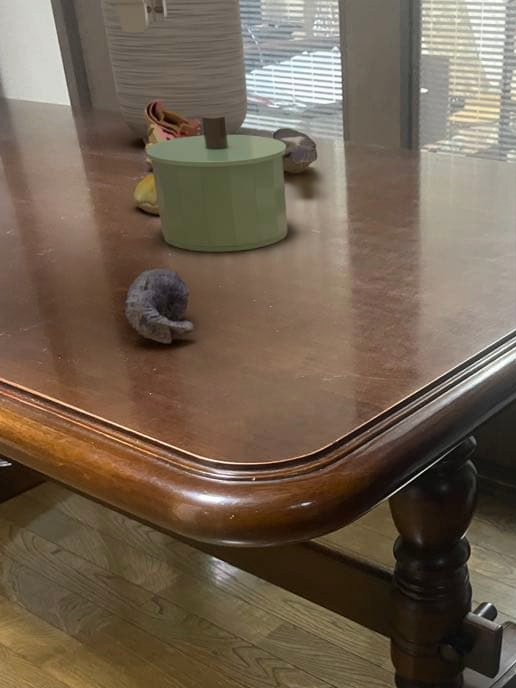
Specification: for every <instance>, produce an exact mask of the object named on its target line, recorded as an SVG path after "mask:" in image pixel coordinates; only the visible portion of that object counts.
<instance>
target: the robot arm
mask: <svg viewBox="0 0 516 688" xmlns="http://www.w3.org/2000/svg"><path fill="white" fill-rule="evenodd" d="M116 3H117V7H118V13H119V19H120V25H121V28H122V30H123V31H125V32H126V33H142V32H144V31H146V30H147V29H148V27H149V22H163V21H164V20H166V18H167V10H166V2H165V0H116Z"/></svg>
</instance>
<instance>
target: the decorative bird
mask: <svg viewBox="0 0 516 688" xmlns="http://www.w3.org/2000/svg"><path fill="white" fill-rule="evenodd" d="M272 139H276V140H279V141H281V142H283V143H285V145H286V153H285V154H284V155H282V159H283V171H285V172H286V173H289V174H293V175H296V174H301V173H303V172H304V171H305V170H306V169H307V168H308V167H309V166H310V165H311V164H312V163H313V162H316V161H317V159H318V150H317V144H316V142H315V141H314V140H313V139H312V138H311V137H310V136H309V135H307V134H306V133H303V132H302V131H298V130H296V129H293V128H290V127H288V128H287V127H285V128H283V127H282V128H278V129H276V130H275V131H274V132H273V134H272Z"/></svg>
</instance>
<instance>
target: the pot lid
mask: <svg viewBox="0 0 516 688" xmlns="http://www.w3.org/2000/svg"><path fill="white" fill-rule="evenodd" d="M202 123H203V132H204V135H202V136H191V137H183V138H176V139H171V140H166V141H162V142H158V143H155V144H153V145H151V146H149V147H148V148H147V150H146V153H145V155H146V158H147V157H148V158H149V159H151V160H153V161H156V162H159V163H163V164H169V165H176V166H189V167H223V166H237V165H246V164H253V163H259V162H264V161H268V160H272V159H275V158H278V157H280V156H282V155H284V154H285V153H286V145H285V143H283V142H281V141H279V140H276V139H273V137H267V136H260V135H249V134H233V135H227V129H226V120H225V115H220V114H210V115H204V116H202Z"/></svg>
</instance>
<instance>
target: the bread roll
mask: <svg viewBox="0 0 516 688" xmlns="http://www.w3.org/2000/svg"><path fill="white" fill-rule="evenodd" d="M133 198H134V199H133V200H134V203H135V205H136V206H137V207H138V208H139V209H142V210H143V211H144V212H147V213H149V214H152V215H159V216H160V214H159V208H158V201H157V195H156V188H155V181H154V175H153V173H151V174H149V175H147V176H146V177H145V178H143V179H142V180H141V181H140V182H139V183H138V184H137V185H136V187H135V191H134V193H133Z"/></svg>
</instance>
